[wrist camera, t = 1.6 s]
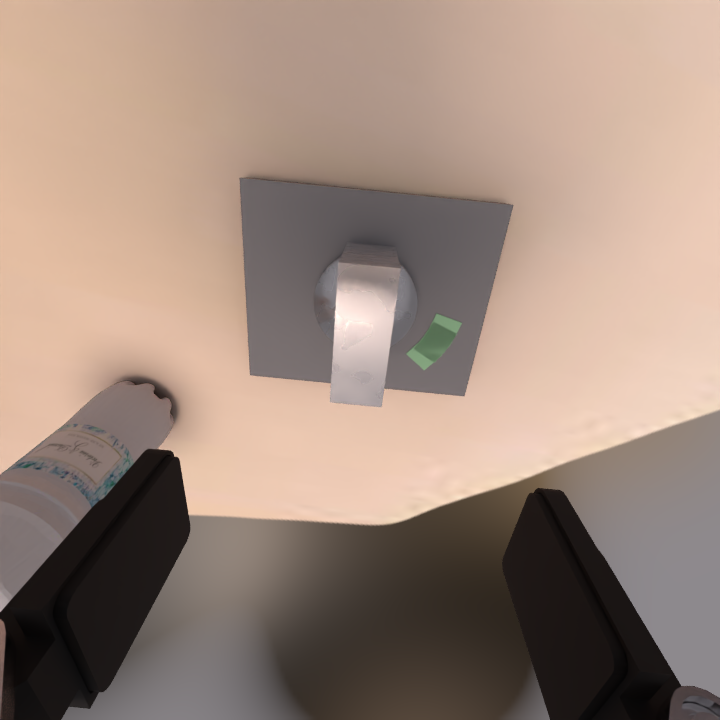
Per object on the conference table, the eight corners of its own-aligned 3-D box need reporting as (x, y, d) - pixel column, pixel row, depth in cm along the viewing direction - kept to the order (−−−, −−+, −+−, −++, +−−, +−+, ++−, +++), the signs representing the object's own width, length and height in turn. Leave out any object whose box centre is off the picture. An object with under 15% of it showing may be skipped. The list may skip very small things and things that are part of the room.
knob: (425, 247, 24) (442, 272, 18) (402, 385, 29) (409, 444, 22) (317, 236, 24) (296, 258, 18) (312, 377, 29) (294, 433, 22)
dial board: (247, 177, 24) (239, 177, 23) (505, 203, 24) (514, 205, 23) (255, 366, 30) (249, 375, 29) (460, 386, 30) (464, 396, 29)
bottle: (193, 393, 32) (-44, 672, 14) (171, 446, 35) (-49, 735, 17) (115, 358, 31) (-254, 615, 13) (100, 416, 33) (-222, 693, 15)
